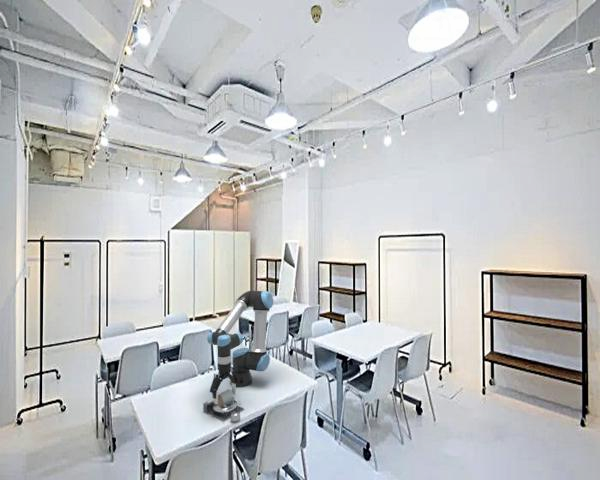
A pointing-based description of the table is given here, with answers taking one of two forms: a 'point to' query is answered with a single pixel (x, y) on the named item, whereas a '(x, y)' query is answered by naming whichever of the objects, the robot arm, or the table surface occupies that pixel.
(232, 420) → the steel spacer
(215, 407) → the pan
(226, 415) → the scale base
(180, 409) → the table surface
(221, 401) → the ceramic mug
